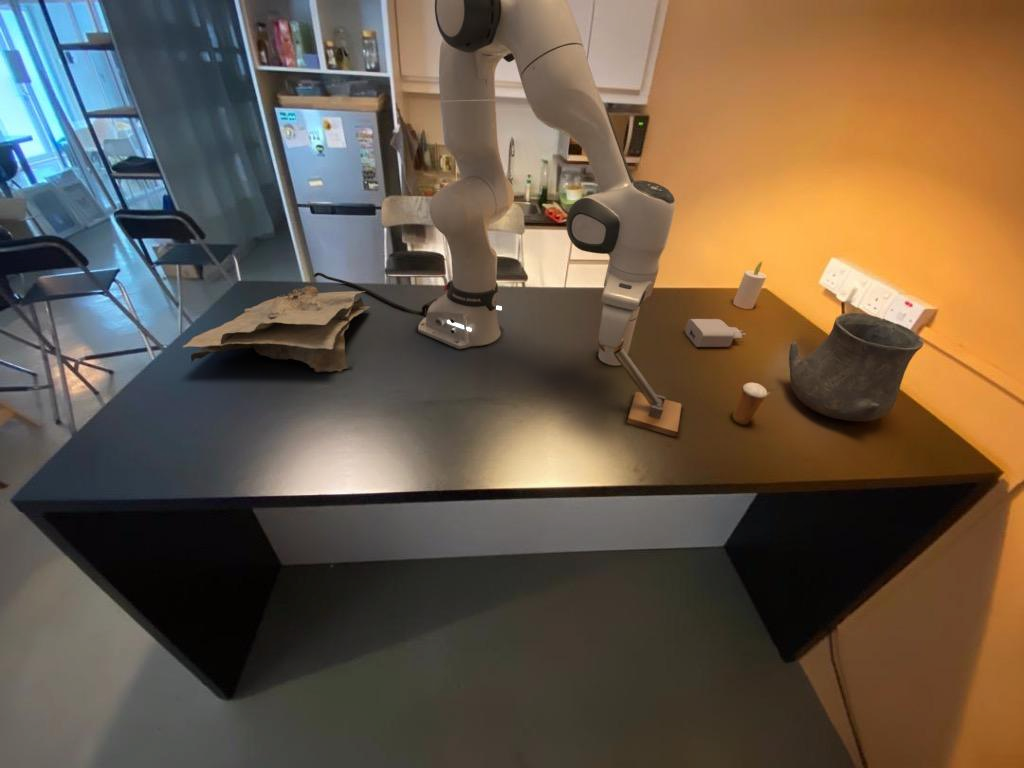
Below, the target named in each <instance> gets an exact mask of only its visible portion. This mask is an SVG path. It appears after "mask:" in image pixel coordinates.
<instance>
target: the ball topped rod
mask: <svg viewBox="0 0 1024 768" xmlns="http://www.w3.org/2000/svg"><path fill="white" fill-rule="evenodd" d="M623 342H624V339H623V338H622V340H621V342H620V344H619V346H618V348H615V350H614V353H613V354H614V356H615V357H616V358H617V360H618V361H619V363H620V364H621V365H620V366H621V367H622V368H623V369H624V371H625V372H626V374H627V375H628V377H629V378H630V379H631V381H632V382H633V383H634V386H636V388H638V390H639V392H640V393H642V394H643V396H644V397H645V398H646V400H647V401H648V402H649V404H650V405H654V406H657V407H661V408H662V405H663V401H662V399H660V398H658V396H657V395H658V394H657V393H656V392H655V391H654V390H653V388H652V387H651V385H650V384H649V383H648V381H647V380H646V378H645V377H644V375H643V374H642V372H640V370H639V368H638V367H637V366H636V364H635V363H634V362H633V360H632V359H631V358H630V355H627V353H626V352H625V351H624V349H623V348H622V346H623ZM597 343H598V347H599V349H600V348H601V350H602V351H604V352H605V346H604V345H601V344H599V338H597ZM656 394H657V395H656Z"/></svg>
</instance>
